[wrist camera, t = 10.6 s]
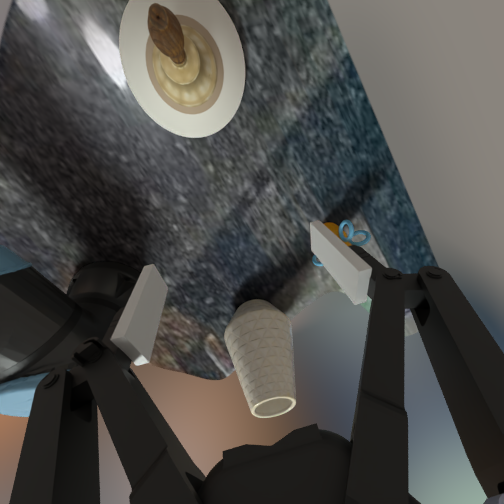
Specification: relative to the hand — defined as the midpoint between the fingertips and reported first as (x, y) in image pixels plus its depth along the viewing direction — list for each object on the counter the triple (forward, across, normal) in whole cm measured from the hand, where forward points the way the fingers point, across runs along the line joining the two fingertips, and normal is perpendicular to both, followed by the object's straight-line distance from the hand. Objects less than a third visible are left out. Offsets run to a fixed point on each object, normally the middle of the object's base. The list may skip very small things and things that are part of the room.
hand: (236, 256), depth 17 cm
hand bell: (+23, -1, +16) cm, 28 cm away
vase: (+25, -1, -37) cm, 44 cm away
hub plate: (+25, -1, +16) cm, 29 cm away
